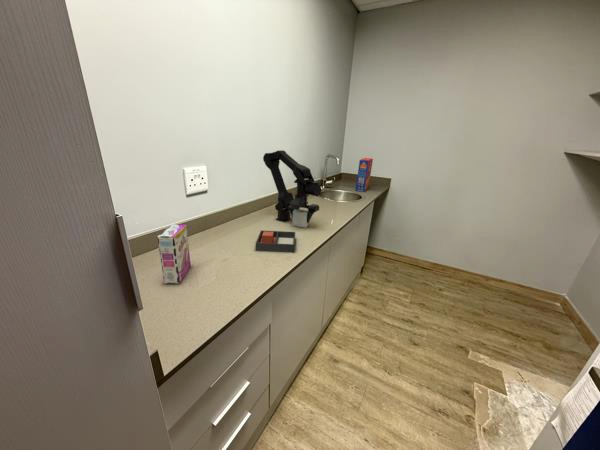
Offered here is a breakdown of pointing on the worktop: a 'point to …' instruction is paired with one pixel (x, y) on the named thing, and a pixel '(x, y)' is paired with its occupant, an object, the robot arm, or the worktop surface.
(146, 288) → the worktop surface
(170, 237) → the candy bar box
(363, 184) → the pasta box
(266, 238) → the terracotta block
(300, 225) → the medicine box
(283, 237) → the tray
